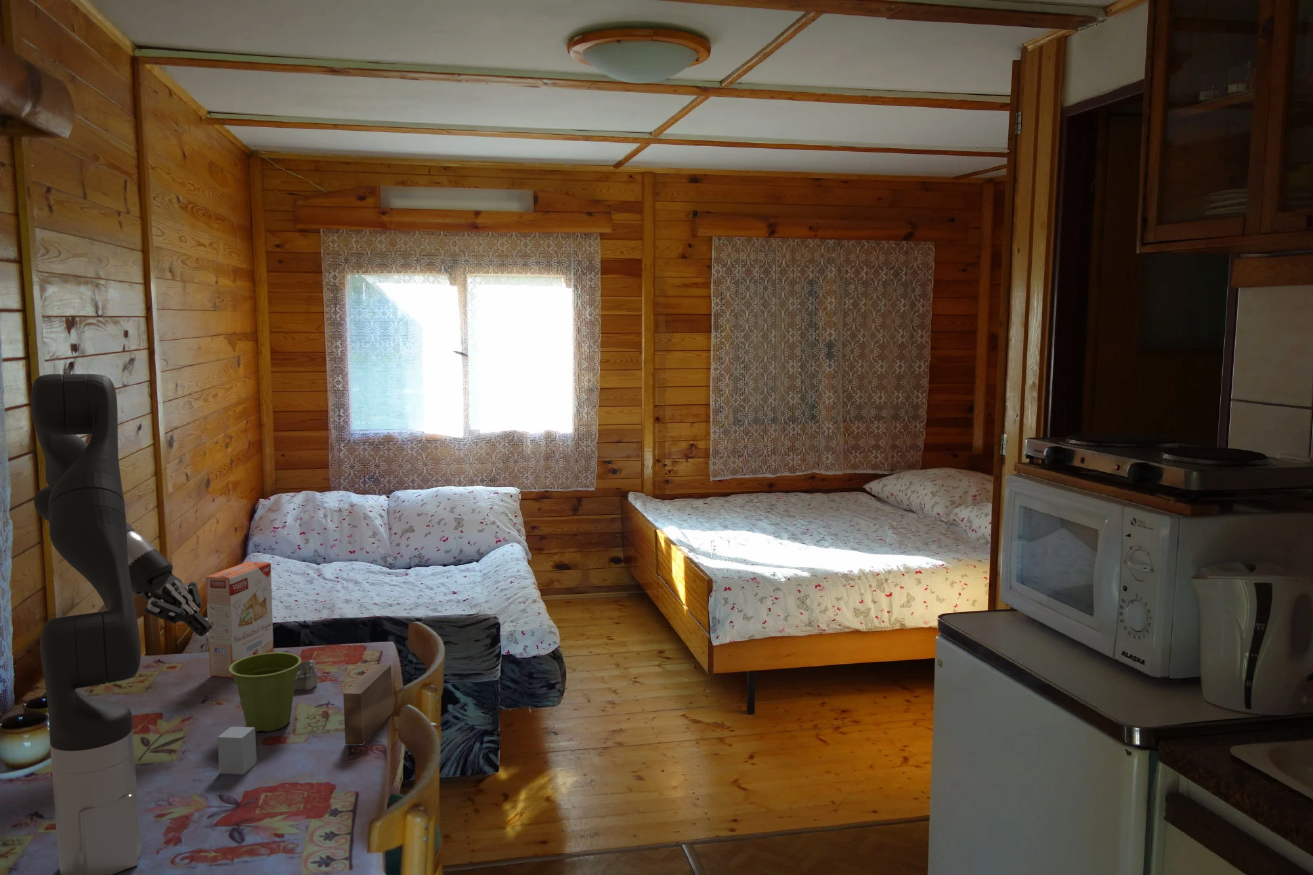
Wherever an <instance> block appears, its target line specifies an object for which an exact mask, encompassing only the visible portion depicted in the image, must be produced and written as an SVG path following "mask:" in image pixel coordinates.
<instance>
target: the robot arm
mask: <svg viewBox="0 0 1313 875" xmlns="http://www.w3.org/2000/svg"><path fill="white" fill-rule="evenodd" d="M30 392H31V393H30V408H31V409H30V411H31V418H32V423H33V427H34V431H35V434H36V437H37V440H38V443H39V446H40V448H41V450H42V453H43V456H44V466H45V467H44V468H45V479H46V480H45V481H46V484H47V485H46V486H45V487H43V488H42V489H40V490H39V491H38V492H36V493H35V495H34V497H33V504H34V508H35V510H36V512H37V514H38V515H40V516H41V518H43V520H45V521H47V522H48V527H49V529H48V531H49V538H50V541H51V544H52V545H53V547H54V549H55V550H56V552H58V554H59V555H60V556H61V557H62V558H63V559H64V560H65V561H66V562H67V563H68V564H69V565H70V566H71V567H73V569H75V570H76V571H77V572H78V573H79V574H80V575H81V576H82V577H83V578H85V580H86V581H87V582H89V583H90V584H91V586H92V587H93V588H94V590H96V592H97V593H98V595H99V596H100V598H101V600H102V602H103V604H104V606H105V608H106V610H104V611H97V612H88V613H82V614H80V613H79V614H75V615H74V614H73V615H66V616H58V617H54V618H51V619H48V620H47V621H46V622H45V624H44V625H43V627H42V629H41V633H40V640H39V642H40V643H39V644H40V646H39V647H40V648H39V650H40V651H39V652H40V658H41V667H42V673H43V678H44V686H45V687H44V688H45V694H46V701H47V709H48V710H47V711H48V728H49V732H48V733H49V745H50V746H49V748H50V760H51V776H52V778H51V779H52V788H53V790H52V791H53V803H54V804H53V805H54V816H55V828H56V829H55V830H56V843H57V851H58V853H57V854H58V865H59V874H60V875H115V874H118V873H120V872H122V871H125V870H127V869H131V868H133V867H135V866H138V865H139V857H140V856H141V854H142V848H141V845H142V844H141V830H140V820H139V804H138V803H139V802H138V788H137V787H138V786H137V773H136V760H135V743H134V742H135V741H134V726H133V714H132V713H133V712H132V711H131V708H129V707H128V706H127V705H126V704H123V703H121V702H117V701H112V700H111V701H109V700H103V699H98V698H93V697H91V696H90V697H89V696H87V695H85V694H83V693H80V692H79V691H77V689H82V688H87V687H94V686H95V687H96V686H99V685H106V684H112V683H117V682H121V681H125V680H130V679H132V678H133V677H135V676H136V675H137V673H138V671H139V670H140V665H141V659H142V647H141V646H142V645H141V636H140V629H139V625H138V618H137V612H136V606H135V600H134V595H135V596H137V597H138V596H143V597H144V598H145V600H147V603H148V604H147V606H146V607H145V608H144V612H145V613H147V615H148V614H149V615H151V616H153V617H157V618H159V619H162V620H164V621H166V622H170V623H171V624H175V625H176V624H177V623H178V622H180V623H182V624H185V625H187V626H188V627H189V628H190V629H191V630H192V631H193V632H194V633H195V634H197V635H198V636H199V637H204V636H205V635H208V632H209V631H210V630H211V629H212V625H211V624H210V623H209V622H208V619H206V617H204V616H203V615H202V614H201V612H200V608H201V607H202V606H203V602H202V601H203V600H202V597H201V595H200V591H199V588H198V585H197V583H196V582H195V581H191V582H190V583H189V584H188V583H184V582H183V581H182V579H181V578H179V577H177V576H175V575H174V574H173V572H172V571H173V568H174V566H173V564H172V563H171V562H170V561H169V560H168V559H167V558H166V557H165V556H164V555H163V554H162V553H161V552H160V551H159V550H158V549H157V548H156V547H155V546H154V545H153V544H152V543H151V542H149V540H148V539H146V538H145V537H144V535H141V534H140V533H139V532H138V531H136V530H135V529H134V528H133V527H132V526H131V525H130V524H129V522H127V518H126V517H127V516H126V506H125V505H126V504H125V498H124V491H123V484H122V476H121V470H120V469H121V468H120V459H119V426H118V424H119V423H118V422H119V421H118V420H119V418H118V413H119V412H118V411H119V410H118V396H117V392H116V387H115V385H114V383H113V381H112V379H111V378H110V377H109V376H107V375H103V374H98V373H97V374H96V373H49V374H48V373H47V374H42V375H39V376H38V377H37V378H35V379H34V381H33V384H32V387H31V391H30ZM78 435H80V436H81V435H91V437H90V439H89V442H88V443H87V442H86V441H85V440H84V439H83V438H81V437H79V436H78Z"/></svg>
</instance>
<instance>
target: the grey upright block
mask: <svg viewBox="0 0 1313 875" xmlns="http://www.w3.org/2000/svg"><path fill="white" fill-rule="evenodd" d="M217 750H218V753H217V754H218V770H219V771H218V772H219V774H222V775H245V774H246V773H247V772H248V771H250V770H251V769H252V768H253V767H254V766H256V764H257V744H256V732H255V727H247V726H230V727H229V728H227V729H226V730H225V731H224V732H222V733H221V734H219V735H218V736H217Z"/></svg>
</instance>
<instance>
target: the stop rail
mask: <svg viewBox="0 0 1313 875" xmlns="http://www.w3.org/2000/svg"><path fill="white" fill-rule="evenodd" d="M392 680H393V679H392V664H380V663H379V664H377V663H376V664H374V665H373V666H372V667H371V668H370V669H369V670H366V672H365V673H364V674H363V675H362V676H361V677H359V679H357V680H356V681H355V682H354V683H353V684H352V685H351V686H350V687H348V689H346V690H345V691H344V692H343V695H342V696H343V697H342V698H343V718H344V741H345V742H344V744H363V743H364V742H365V741H366V740H367V739H368V738H369V737H370V736H371V735H372V734H373V735H374V733H375V732H377V730H378V729H379V728H380V727H381V726H382V725H383V723H385V721H386V720H388V719H389V717H390V716H391V715H392V714H393V712H394V711H393V710H394V709H393V707H394V706H393V684H392ZM373 732H374V733H373ZM373 735H372V736H373ZM372 736H371V737H372ZM371 737H370V738H371ZM370 738H369V739H370ZM369 739H368V740H369ZM368 740H367V741H368ZM367 741H366V742H367ZM366 742H365V743H366ZM365 743H364V744H365ZM364 744H363V745H364Z"/></svg>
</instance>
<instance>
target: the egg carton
mask: <svg viewBox="0 0 1313 875" xmlns="http://www.w3.org/2000/svg"><path fill="white" fill-rule="evenodd" d="M317 672H318V668H317V663H316V660H315V659H310V660H305V659H304V660H303V662H302V661H301V663H300V665H299V666H298V671H297V676H296V678H295V686H294V692H295V691H296V690H297V691H298V690H312V689H313V688H316V687H318V676H317V674H316V673H317Z"/></svg>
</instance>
